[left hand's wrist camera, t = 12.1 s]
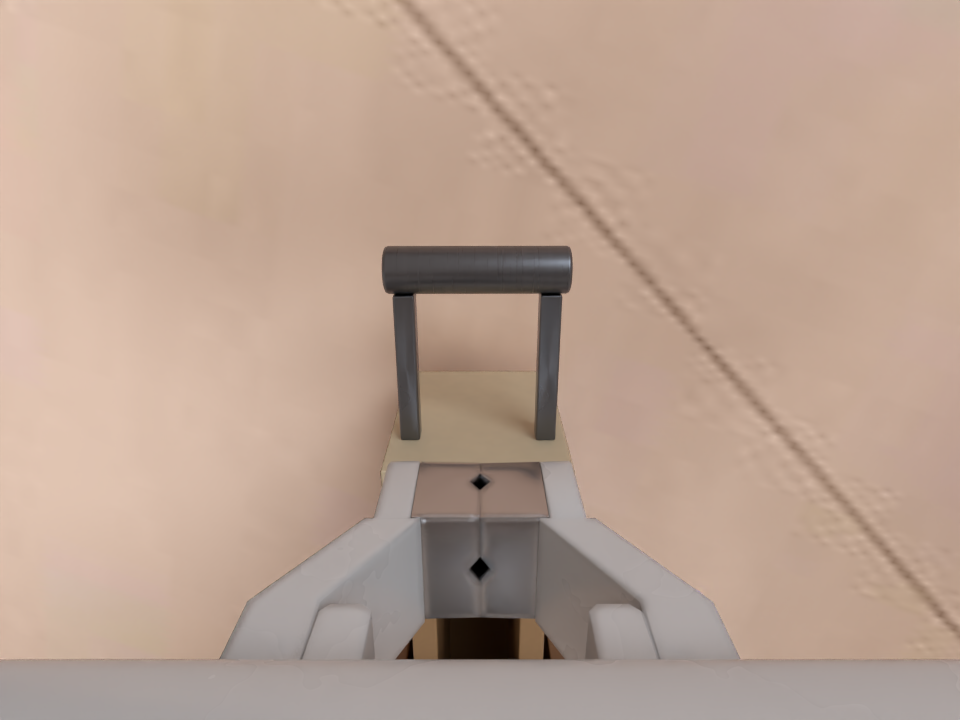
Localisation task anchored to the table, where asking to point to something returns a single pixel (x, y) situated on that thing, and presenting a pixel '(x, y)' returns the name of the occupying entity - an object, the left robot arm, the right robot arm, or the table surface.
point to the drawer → (477, 402)
